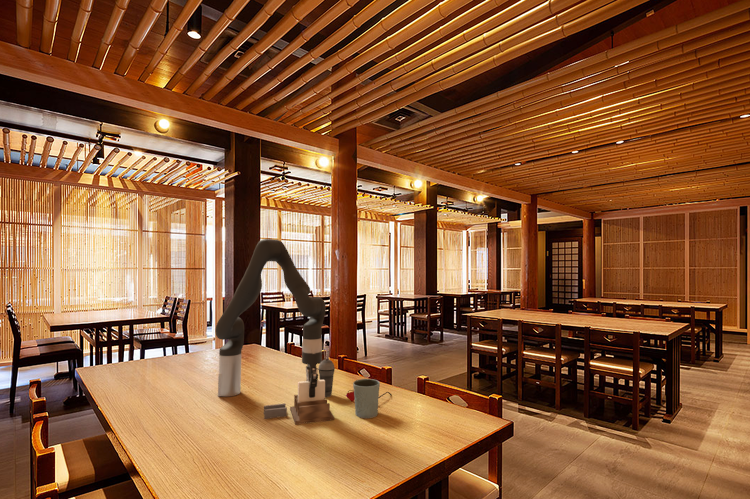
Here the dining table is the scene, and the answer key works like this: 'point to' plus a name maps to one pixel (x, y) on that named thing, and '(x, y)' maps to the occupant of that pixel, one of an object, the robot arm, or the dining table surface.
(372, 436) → the dining table surface
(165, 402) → the dining table surface
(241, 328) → the robot arm
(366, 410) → the grey green cup
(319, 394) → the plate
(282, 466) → the dining table surface
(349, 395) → the glasses
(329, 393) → the beverage cup
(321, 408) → the dish rack
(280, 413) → the plate stand
